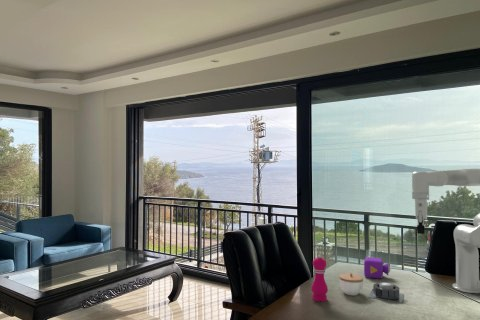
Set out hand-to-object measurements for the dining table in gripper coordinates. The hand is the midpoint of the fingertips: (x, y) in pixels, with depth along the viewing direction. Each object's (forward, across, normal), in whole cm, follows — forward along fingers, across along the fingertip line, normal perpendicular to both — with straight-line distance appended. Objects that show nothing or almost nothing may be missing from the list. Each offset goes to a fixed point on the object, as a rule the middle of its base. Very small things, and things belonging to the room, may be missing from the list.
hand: (420, 233), depth 175 cm
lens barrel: (+27, -20, +14) cm, 36 cm away
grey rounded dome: (+26, -20, +14) cm, 36 cm away
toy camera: (+27, +10, +22) cm, 37 cm away
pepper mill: (+27, -39, +40) cm, 62 cm away
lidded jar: (+27, -24, +29) cm, 47 cm away
